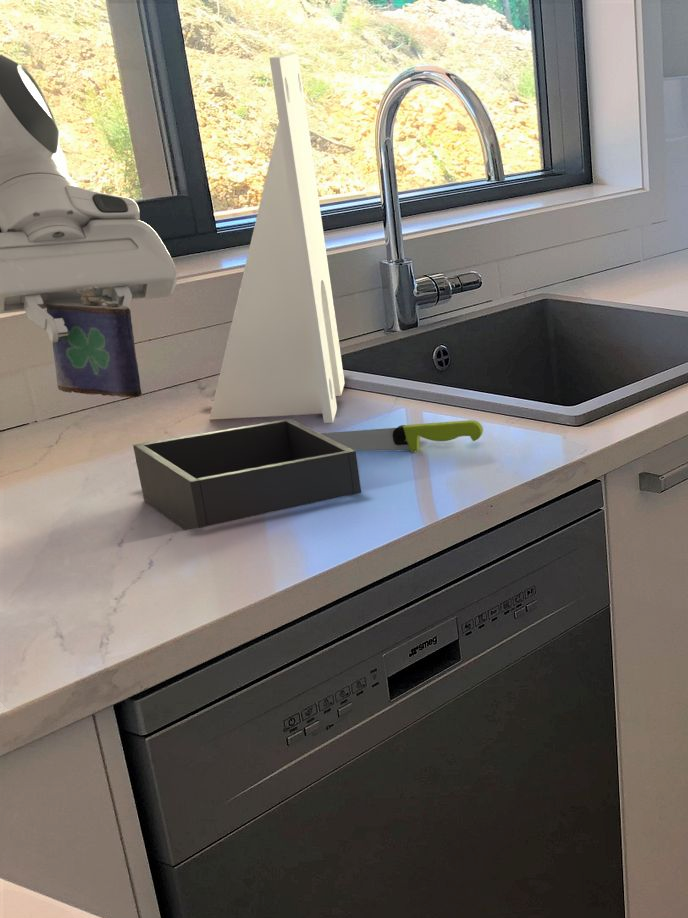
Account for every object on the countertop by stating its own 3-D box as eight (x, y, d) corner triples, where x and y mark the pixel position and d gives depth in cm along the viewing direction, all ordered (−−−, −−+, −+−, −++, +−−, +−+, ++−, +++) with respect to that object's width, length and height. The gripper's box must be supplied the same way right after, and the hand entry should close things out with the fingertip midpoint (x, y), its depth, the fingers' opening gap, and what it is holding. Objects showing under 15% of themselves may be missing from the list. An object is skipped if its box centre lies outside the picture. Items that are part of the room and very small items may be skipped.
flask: (52, 391, 143) (37, 284, 140) (73, 387, 146) (59, 282, 143) (131, 398, 142) (118, 291, 138) (150, 394, 144) (138, 288, 141)
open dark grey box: (201, 542, 127) (190, 482, 125) (144, 501, 138) (132, 444, 135) (363, 507, 137) (356, 451, 135) (298, 471, 148) (290, 418, 145)
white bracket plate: (227, 389, 179) (168, 52, 163) (344, 383, 183) (298, 53, 166) (202, 429, 162) (133, 57, 145) (332, 422, 165) (279, 57, 149)
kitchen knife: (286, 462, 155) (279, 436, 153) (290, 459, 156) (284, 433, 155) (483, 448, 154) (478, 422, 153) (486, 445, 155) (481, 419, 154)
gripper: (-71, 211, 135) (-21, 328, 132) (150, 198, 148) (199, 305, 145) (-70, 252, 140) (-23, 366, 137) (144, 237, 153) (191, 340, 150)
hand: (93, 334), depth 141 cm, fingers closed on flask, 5 cm apart
